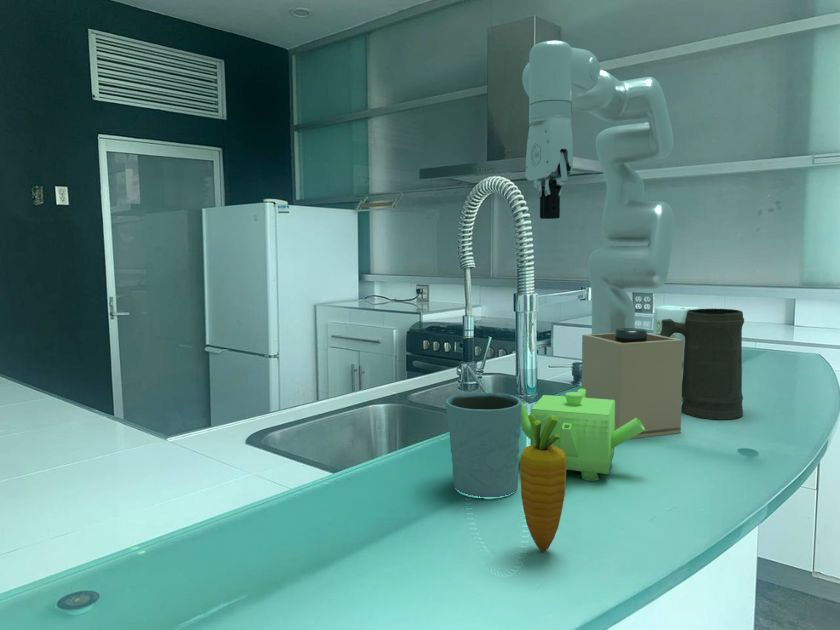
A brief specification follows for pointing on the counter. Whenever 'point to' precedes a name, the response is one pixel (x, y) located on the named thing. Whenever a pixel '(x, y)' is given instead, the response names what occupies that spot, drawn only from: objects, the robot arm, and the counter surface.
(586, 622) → the counter surface
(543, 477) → the carrot
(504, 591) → the counter surface
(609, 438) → the kettle
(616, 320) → the robot arm
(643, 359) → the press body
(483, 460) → the gray cup
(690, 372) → the beer stein
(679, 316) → the juice carton
